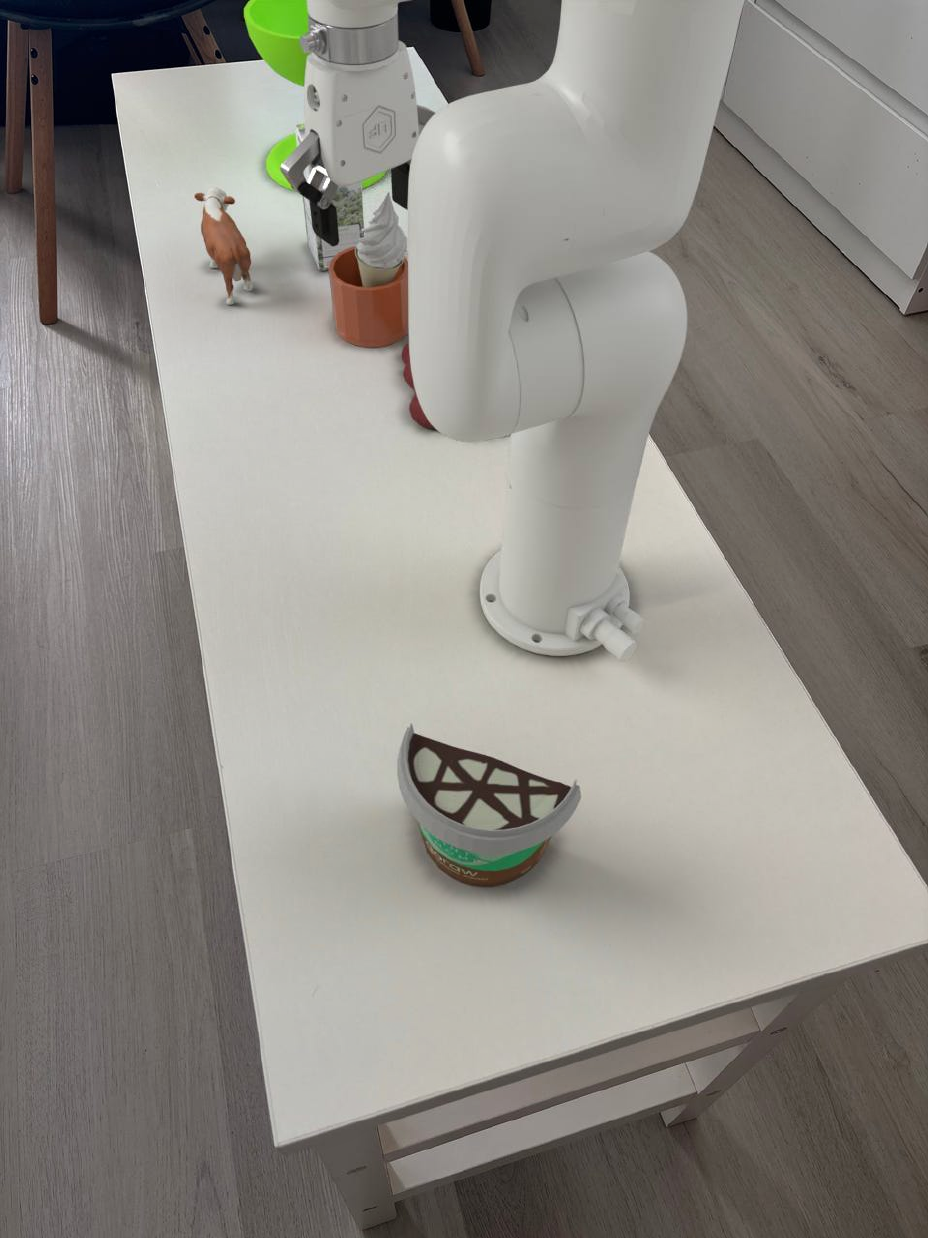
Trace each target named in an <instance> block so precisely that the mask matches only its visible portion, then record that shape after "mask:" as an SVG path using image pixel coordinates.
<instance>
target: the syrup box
mask: <svg viewBox="0 0 928 1238" xmlns="http://www.w3.org/2000/svg"><path fill="white" fill-rule="evenodd" d="M294 129H295V130H294V131H295V133H296V141H297V147H298V146H299V144H300V143H301V142H302V141H303V140H304V139H305V138H306V136H305V123H300V124H295V125H294ZM312 169H313V168H311V166H310V164H309V165H308V166H307V167H306V168H305V170H304V177H305V178H306V180H308V178H309V176H310V173H311V171H312ZM326 179H327V177H326V176H324V178H323V181H322V183H321V185H320V187H319V189H318V190H319V191H320V192H321V190H322V188H323V185H324V183H325V181H326ZM363 201H364V200H363V188H362V181H361V182H358V183H356V184H353V185H350V186H338V188H337V191H336V193H335V195H334V197H333V199H332V201H331V204H333V205H334V206H335V207H336V210H337V221H338V232H339V243H338V245H336V246H334V247H332V246H331V245H329V244H328V243H327V242H325V241H324V240H322V239H321V238H320V237H318V236H317V235H316V234H315V233H314V231H313V228H312V220H311V211H310V202H309V200H308V199H307V198H305V197H304V196H302V203H303V212H304V220H305V230H306V240H307V245H308V247H309V250H310V252H311V255H312V257H313V260H314V261H315V264H316V266H317V269H318V271H320V272H324V271H329V265H330V261H331V260H332V259H333V258H334V257H335V256H336V255H337V254H338V253H339V252H341V251H343V250H345V249H348V248H350V247H354V246H357V245H358V244H359V243H360V242H359V241H358V239H359V238H362V237H364V236H365V232H364V231H362V228H365V222H364V221H365V218H364V204H363V203H364V202H363Z"/></svg>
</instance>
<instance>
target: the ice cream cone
mask: <svg viewBox="0 0 928 1238" xmlns="http://www.w3.org/2000/svg"><path fill="white" fill-rule="evenodd" d="M384 197H385V198H384V199H383V201H382V203H381V204H380V206H378V208H377V209H376V210H375V211H374V212H372V214H373V215H374V217H373V218H372V220H370V221H368V224H369V226H368V227H364V228H362V231H364V233H365V236H364V237H362V238H359V239H358V241H359V242H360V243H359V244H358V245H357V246H356V248H355V255H356V257H357V260H358V264H359V270H360V275H361V279H362V284H363V287H377V286H383V285H387V284H389V283H391V282H392V281H393V279H394V277H395V275H396V273H397V271H398V269H399V267H400V266H401V265H402V263H403V262H404V256H406V252H407V251H406V250H407V246H408V237H407V236H406V234H405V233H404V231H403V228H402V227H401V226H400V225H399V215H398V214H397V213H396V211H395V208H394V205H393V202H392V201H393V200H392V197H391V194H390V191H389V192H387V194H386V195H385V196H384Z"/></svg>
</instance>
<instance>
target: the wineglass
mask: <svg viewBox="0 0 928 1238" xmlns="http://www.w3.org/2000/svg"><path fill="white" fill-rule="evenodd" d="M243 18H244V21H245V25H246V28H247V29H246V30H247V32H248V36H249V38H250V39H251V42H252V43H253V45H254V47H255V49H256V51H257V53H258V54H259V56H260V57H261V59H262V60H263V61H264V62H265V63H266V64H267V65H268V66H269V67H270V69H272V71H274V73H275V74H277V75H279V76H280V77H282V78H283V79H285V80H287V81H289V82H291V83H293V84H294V85H297V86H299V87H304V84H305V70H306V60H307V56H308V55H310V54H312V52H310V53H304V52H303V50H302V49H301V46H300V41H299V39H300V36H302V35H305V34H306V33H307V32H308V31H309V29H308V9H307V0H249V1H248V2H247V3H246V4H245V6H244V8H243ZM296 148H297V141H296V132H295V133H292V134H290V135H288V136H286V137H284V138H283V139H281V140H279V141H278V142H277V143H276V144H275V145H274V146H273V147H272V148H271V149H270V151H269V154H268V155H267V158H266V159H265V167H266V168H265V170H266V173H267V174H268V175H269V176H270V179H271V180H273V181H274V182H275V183H277V184H278V185H279V186H281V187H284V188H286V189H289V190H290V191H293V192H296V191H295V190H293V189H292V187H291V184H290V183H289V182H288V181H287V179H286V178H285V176H284V175H283V174H282V172H281V170H280V167H281V164H282V163H283V162H284V161H285V160H286V159H287V158H288V156H289V155H290V154H291V153H292V152H293V151H294V150H295V149H296ZM387 172H388V171H385V172H383V173H380V174H378V175H376V176H373V177H371V178H368V179H366V180H363V181H362V189H365V188H367V187H371V186H372V185H373V184H375V183H376V182H378V181H379V180H381V179H382V178H383V177H384V176H385V175H386V174H387Z"/></svg>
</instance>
